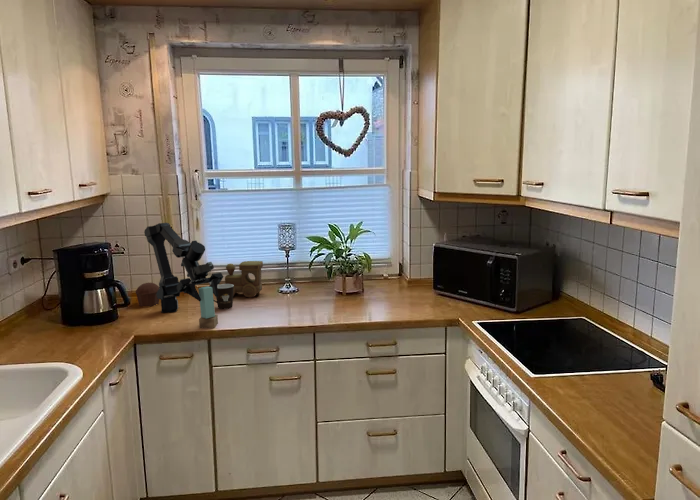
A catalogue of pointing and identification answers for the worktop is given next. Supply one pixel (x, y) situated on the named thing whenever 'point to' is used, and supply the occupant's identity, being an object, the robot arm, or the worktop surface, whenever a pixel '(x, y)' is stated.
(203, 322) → the base block
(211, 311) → the tall block
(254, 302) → the worktop surface
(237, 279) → the wooden toy train
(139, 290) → the muffin
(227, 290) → the coffee mug
